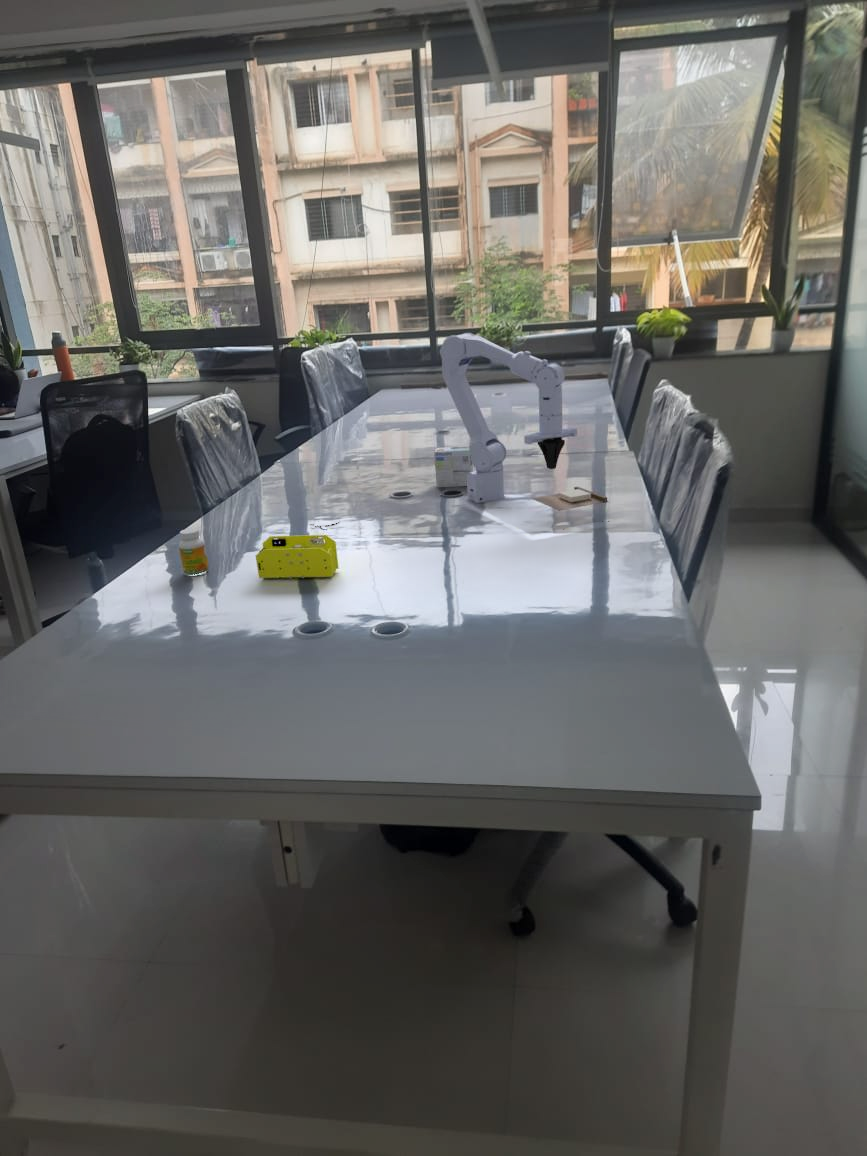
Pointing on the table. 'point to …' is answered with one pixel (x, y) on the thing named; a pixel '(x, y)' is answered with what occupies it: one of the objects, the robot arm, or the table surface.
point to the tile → (574, 495)
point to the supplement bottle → (193, 552)
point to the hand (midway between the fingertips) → (551, 468)
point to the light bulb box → (452, 466)
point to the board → (563, 504)
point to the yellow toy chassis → (297, 557)
